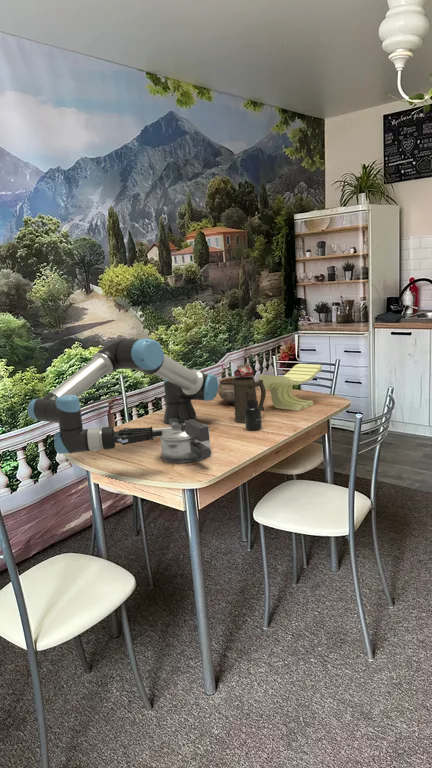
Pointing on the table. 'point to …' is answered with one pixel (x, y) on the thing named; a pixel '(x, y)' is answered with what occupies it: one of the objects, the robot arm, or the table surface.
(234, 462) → the table surface
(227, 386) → the cooking pot
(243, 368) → the juice carton
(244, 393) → the beer stein
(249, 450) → the table surface
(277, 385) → the slatted curved stool
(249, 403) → the supplement bottle
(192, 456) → the pot
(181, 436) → the lid
